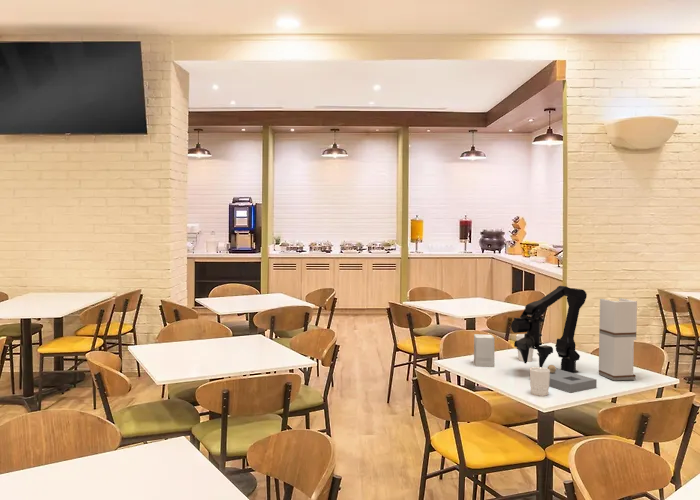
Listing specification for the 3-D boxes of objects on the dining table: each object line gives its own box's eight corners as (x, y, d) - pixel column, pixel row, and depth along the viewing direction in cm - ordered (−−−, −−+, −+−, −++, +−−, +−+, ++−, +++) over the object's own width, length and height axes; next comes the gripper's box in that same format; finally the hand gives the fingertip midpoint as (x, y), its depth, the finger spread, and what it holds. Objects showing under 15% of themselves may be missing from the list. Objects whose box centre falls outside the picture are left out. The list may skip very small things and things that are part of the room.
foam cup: (537, 360, 293) (537, 335, 292) (532, 364, 285) (532, 338, 284) (518, 358, 298) (519, 333, 297) (513, 361, 290) (513, 336, 289)
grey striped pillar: (635, 379, 256) (637, 301, 255) (613, 380, 254) (615, 301, 253) (619, 373, 267) (620, 298, 266) (598, 374, 266) (599, 298, 264)
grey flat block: (555, 375, 262) (555, 368, 262) (596, 387, 243) (596, 379, 242) (529, 380, 254) (529, 372, 254) (570, 392, 235) (570, 384, 235)
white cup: (526, 391, 237) (526, 367, 237) (544, 390, 238) (545, 366, 238) (534, 396, 229) (534, 372, 229) (553, 396, 230) (553, 371, 230)
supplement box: (492, 364, 285) (492, 334, 284) (494, 368, 276) (495, 337, 275) (473, 363, 286) (473, 333, 285) (475, 368, 277) (475, 337, 276)
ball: (551, 371, 256) (551, 363, 256) (557, 373, 253) (557, 365, 253) (545, 372, 254) (545, 364, 254) (551, 374, 251) (552, 366, 251)
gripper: (505, 329, 267) (505, 363, 268) (536, 336, 251) (535, 371, 251) (523, 327, 272) (522, 360, 273) (554, 334, 256) (553, 368, 257)
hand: (532, 365), depth 263 cm, fingers open, 9 cm apart
